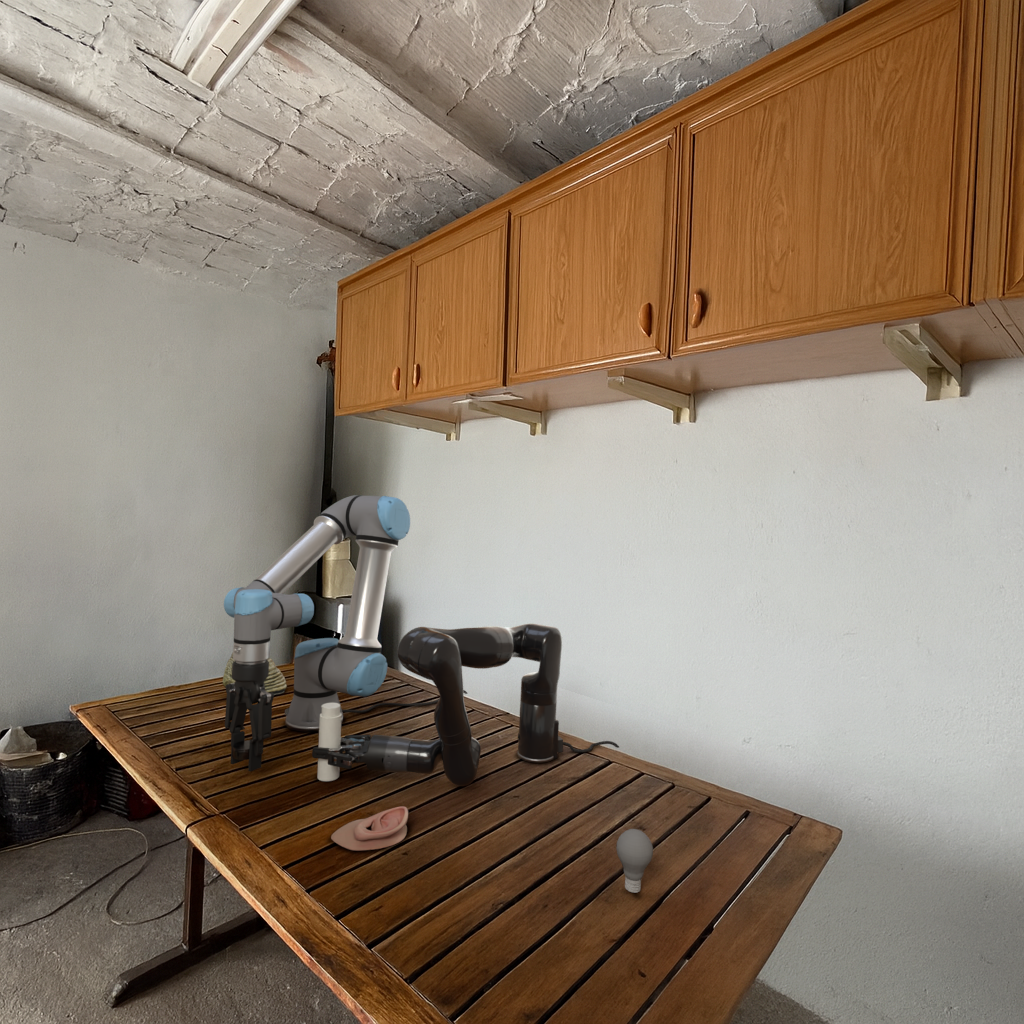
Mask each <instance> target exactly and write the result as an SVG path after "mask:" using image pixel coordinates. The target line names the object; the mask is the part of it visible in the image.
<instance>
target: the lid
mask: <svg viewBox="0 0 1024 1024" xmlns="http://www.w3.org/2000/svg"><path fill="white" fill-rule="evenodd" d="M250 740H251V739H249V740H244V741H241V742H237V743H235V744H234V745H233V750H232V757H233V758H234V759H237V760H243V761H249V745H250Z"/></svg>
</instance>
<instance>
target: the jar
mask: <svg viewBox="0 0 1024 1024" xmlns="http://www.w3.org/2000/svg"><path fill="white" fill-rule="evenodd" d="M340 706H341V703H340V704H338V703H326V704H323V705H322V706H321V707H322V713H321V714H320V721H319V731H318V747H322V748H330V749H331V748H340V744H341V738H342V723H341V719H342V714H341V713H340V709H342V707H341V708H340ZM336 753H339V752H336ZM340 769H341V767H337V766H332V765H328V759H320V758H317V773H316V775H317V780H319V781H321V782H332V781H335V780H337V779H338V778H340Z"/></svg>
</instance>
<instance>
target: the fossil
mask: <svg viewBox="0 0 1024 1024" xmlns="http://www.w3.org/2000/svg"><path fill="white" fill-rule="evenodd" d="M267 660H268V662H269V674H268V677H267V678H266V679H265V681H264V685H265V691H267V692H268V693H274V696H275V695H281V694H284V693H285V691H286V689H287V687H288V686H287V680H286V678H285V676H284V674H283V673H282V672H281V669H279V668H278V667H277V665H276V663H275V662H274V660H273V659H272V658H271V657H269V659H267ZM234 661H235V660H233V652H232V653H231V656H230V657H229V659H228V660H227V663H226V666H225V668H224V671H223V675H222V676H223V677H222V685H223V687H224V688H225V689H226V685H227V684H231V683H235V680H233V679H232V663H233V662H234Z"/></svg>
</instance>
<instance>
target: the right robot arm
mask: <svg viewBox="0 0 1024 1024" xmlns="http://www.w3.org/2000/svg"><path fill="white" fill-rule="evenodd" d="M563 645H564V644H563V634H562V632H561V630H560V629H559V628H557V627H555V626H551V625H547V624H539V623H534V622H532V623H531V622H530V623H528V622H527V623H523V624H518V625H515V626H510V627H508V626H507V627H506V626H501V625H499V626H498V625H488V626H487V625H486V626H485V625H484V626H476V627H473V626H472V627H462V628H461V627H460V628H452V629H451V628H450V629H448V628H447V629H446V628H436V627H430V626H429V627H428V626H418V627H414V628H412V629H410V630H409V631H407V633H405V634H404V635H403V636H402V638H401V639H400V641H399V642H398V646H397V649H396V650H397V651H396V654H397V659H398V661H399V663H400V664H401V666H402V667H404V669H406V670H407V671H409V672H410V673H413V674H415V675H416V676H419V677H422V678H424V679H426V680H429V681H432V682H433V684H434V686H435V688H436V689H437V692H438V694H439V698H440V699H439V698H438V699H439V701H438V702H437V703H436V705H435V708H434V710H433V711H434V712H433V720H434V725H435V729H436V732H437V735H438V738H435V739H431V740H430V739H429V740H427V739H416V738H410V737H405V736H395V735H385V734H384V735H383V734H373V735H370V734H347V735H345V736H344V737H341V744H340V748H331V749H330V748H322V747H319V746H314V747H313V748H312V750H311V752H312V753H311V757H312V758H313V759H318V758H320V759H328V765H332V766H337V767H340V769H341V768H342V769H347V770H351V769H353V764H363V763H364V764H365V765H366V768H367V770H368V771H371V772H372V771H373V772H385V773H394V774H395V773H396V774H400V773H401V774H403V773H410V774H421V775H422V774H423V775H430V774H431V775H432V774H433V773H434V772H435V770H436V769H437V767H438V765H439V764H440V763H441V762H442V766H443V767H442V768H443V772H444V775H445V776H446V778H447V779H448V781H449V782H450V783H451V784H453V785H455V786H457V787H466V786H469V785H471V784H472V783H473V782H474V781H475V779H476V777H477V774H478V771H479V764H480V758H481V754H482V746H481V743H480V742H479V741H478V740H477V739H476V738H474V737H473V731H472V727H471V724H470V721H469V716H468V712H467V710H466V703H465V693H463V690H464V678H463V667H466V668H470V669H477V670H478V669H480V670H481V669H482V670H483V669H486V670H487V669H493V668H498V667H502V666H504V665H507V664H508V663H509V662H510V661H511V659H512V658H519V659H524V660H527V661H533V662H537V663H539V667H538V670H537V671H533V672H532V671H531V672H528V673H526V674H523V675H522V677H521V679H520V699H519V719H518V720H519V723H518V734H517V742H518V743H517V758H519V759H520V760H522V761H524V762H526V763H527V762H528V763H533V764H544V763H549V762H551V761H553V760H558V753H563V752H564V746H566V747H569V749H570V750H571V751H572V752H574V753H579V754H580V753H582V754H583V753H589V752H591V751H592V750H593V748H594V747H598V746H602V745H611V746H614V747H615V748H616V749H617V748H620V746H619V744H617V743H616V742H614V741H611V740H603V741H598V742H594V743H591V744H590V745H589V748H584V749H578V748H574V747H573V745H572V744H571V743H569V742H567V741H564V739H563V738H562V737H561V736H560V735H559V728H560V722H559V719H557V702H558V684H559V681H560V675H561V666H562V657H563ZM336 752H339V753H336Z"/></svg>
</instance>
